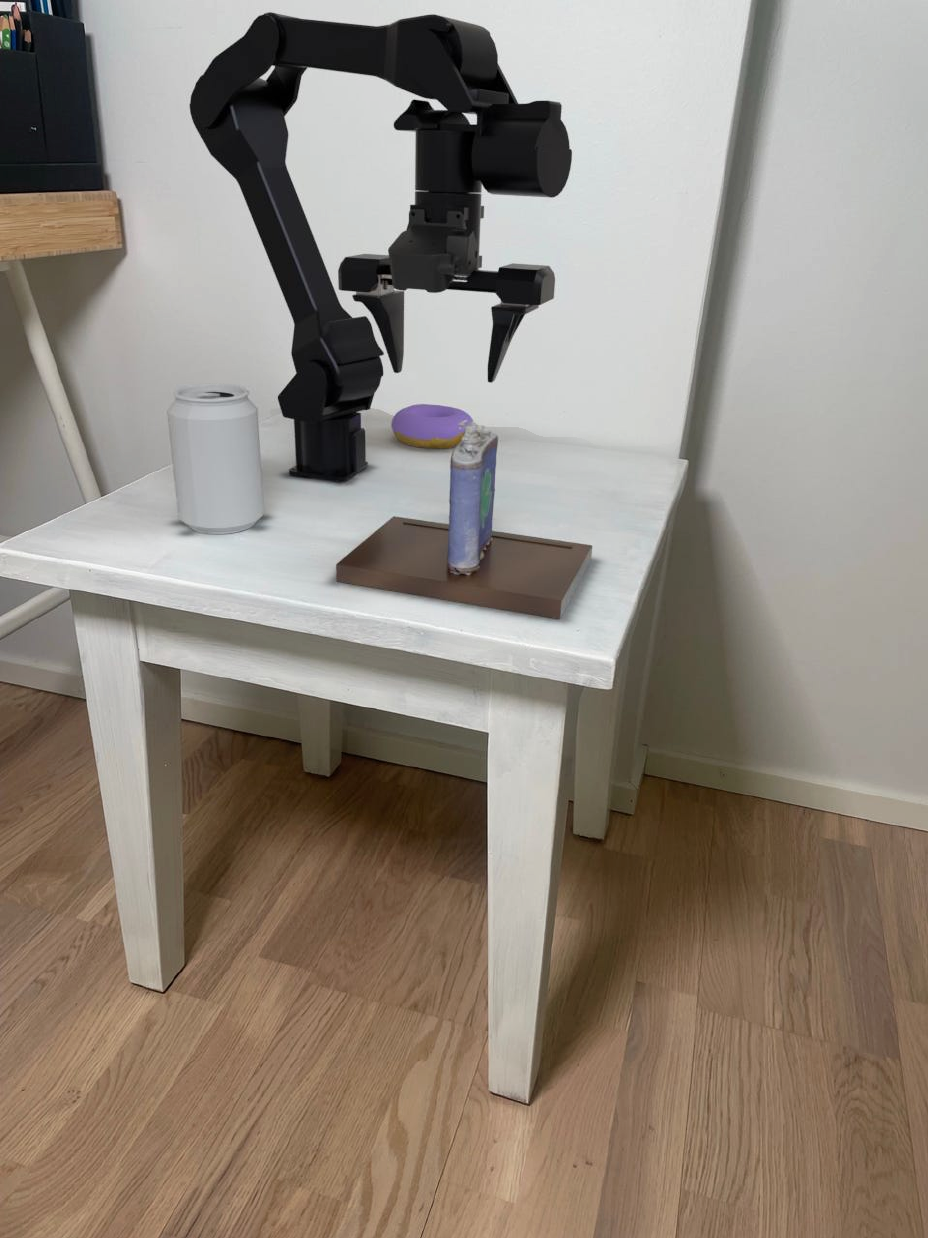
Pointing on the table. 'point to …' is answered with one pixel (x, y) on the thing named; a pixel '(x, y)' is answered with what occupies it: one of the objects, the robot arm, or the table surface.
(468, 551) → the flask
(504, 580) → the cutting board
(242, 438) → the can
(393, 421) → the donut
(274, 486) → the table surface
